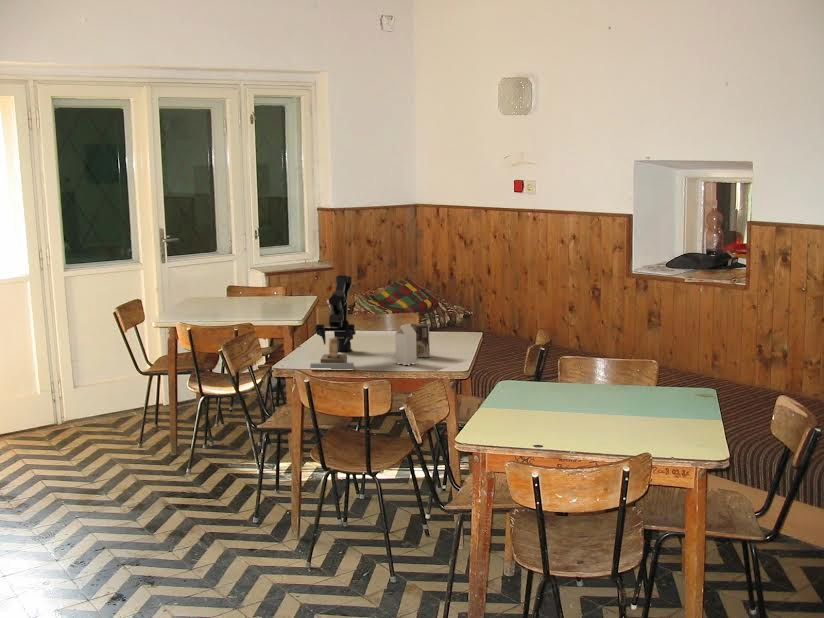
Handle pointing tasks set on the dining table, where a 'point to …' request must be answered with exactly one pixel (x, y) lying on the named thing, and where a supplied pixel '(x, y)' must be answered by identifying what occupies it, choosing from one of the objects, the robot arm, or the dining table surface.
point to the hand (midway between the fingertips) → (334, 344)
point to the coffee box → (422, 339)
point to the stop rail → (333, 365)
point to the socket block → (334, 359)
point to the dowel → (333, 348)
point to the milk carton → (405, 345)
